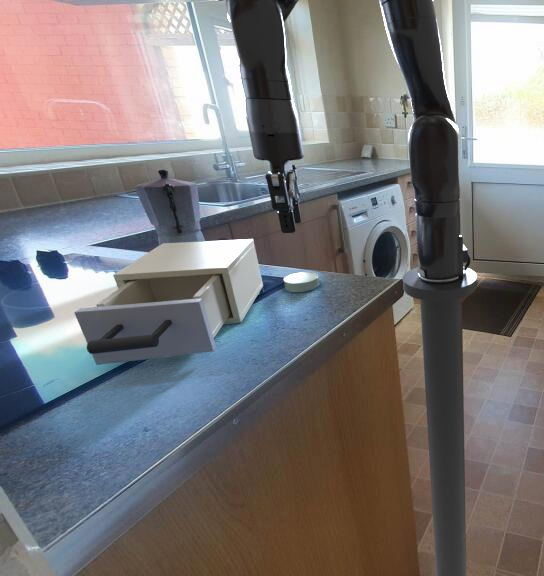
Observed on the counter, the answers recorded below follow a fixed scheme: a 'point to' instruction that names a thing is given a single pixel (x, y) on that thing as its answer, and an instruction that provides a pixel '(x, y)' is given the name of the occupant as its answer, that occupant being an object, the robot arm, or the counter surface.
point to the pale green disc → (301, 282)
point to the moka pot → (172, 208)
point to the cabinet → (204, 268)
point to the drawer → (156, 318)
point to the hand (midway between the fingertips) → (292, 227)
